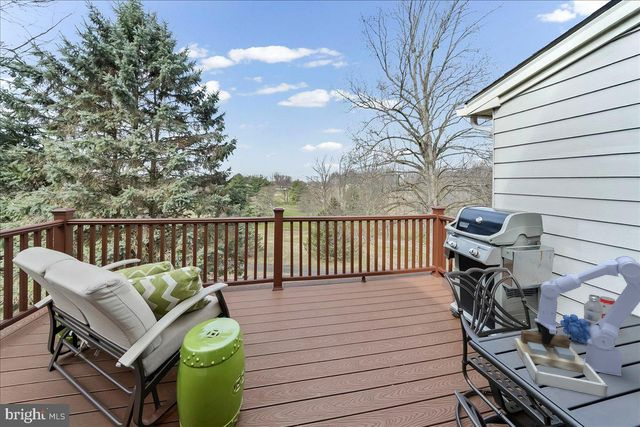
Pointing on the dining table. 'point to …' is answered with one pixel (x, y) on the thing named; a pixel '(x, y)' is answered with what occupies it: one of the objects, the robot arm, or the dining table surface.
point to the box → (568, 379)
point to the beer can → (606, 304)
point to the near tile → (564, 353)
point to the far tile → (537, 348)
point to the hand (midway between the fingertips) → (544, 341)
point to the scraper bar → (537, 338)
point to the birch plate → (550, 358)
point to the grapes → (576, 328)
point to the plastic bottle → (592, 310)
